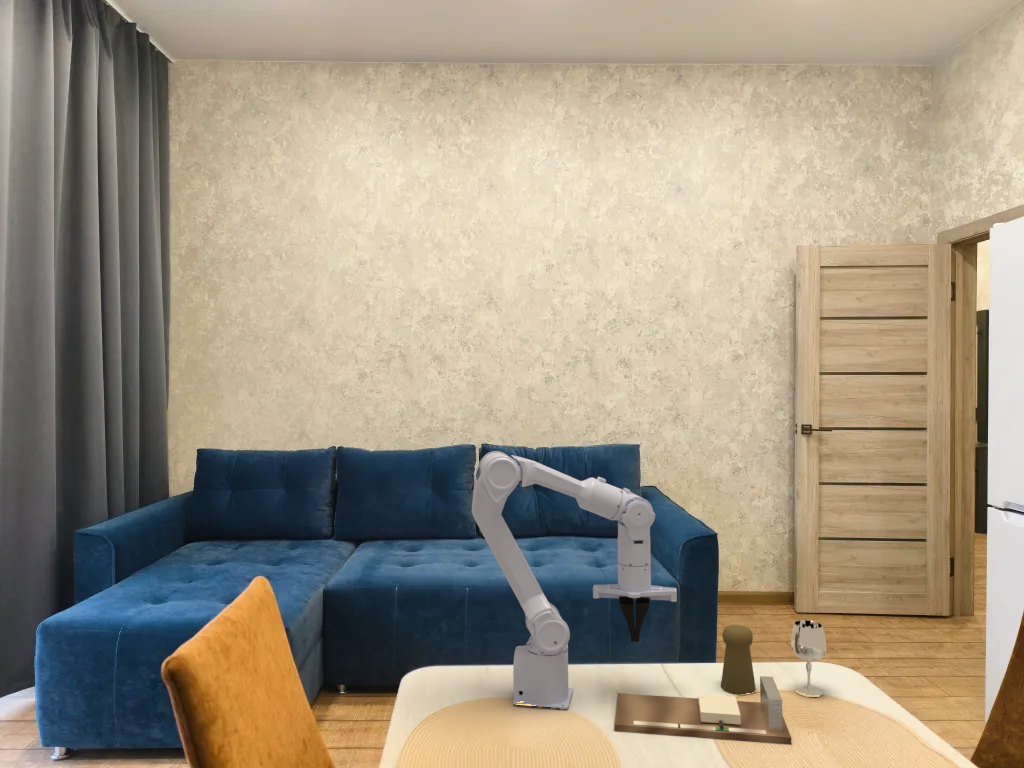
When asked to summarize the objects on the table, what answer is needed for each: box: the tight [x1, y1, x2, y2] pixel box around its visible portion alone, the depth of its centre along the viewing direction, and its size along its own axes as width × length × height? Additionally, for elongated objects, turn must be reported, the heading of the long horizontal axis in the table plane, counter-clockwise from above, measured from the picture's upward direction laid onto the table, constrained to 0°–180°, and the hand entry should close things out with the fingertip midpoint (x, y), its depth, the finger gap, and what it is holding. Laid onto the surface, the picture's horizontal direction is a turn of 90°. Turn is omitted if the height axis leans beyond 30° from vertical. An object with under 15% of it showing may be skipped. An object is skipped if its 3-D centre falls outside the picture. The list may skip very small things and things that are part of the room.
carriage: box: [697, 693, 741, 729], centre depth 118 cm, size 6×9×2 cm, turn 169°
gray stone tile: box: [759, 675, 783, 732], centre depth 117 cm, size 2×9×5 cm, turn 169°
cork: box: [720, 624, 757, 695], centre depth 132 cm, size 6×6×11 cm
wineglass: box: [790, 619, 827, 696], centre depth 129 cm, size 6×6×12 cm
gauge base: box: [613, 692, 792, 745], centre depth 119 cm, size 26×12×1 cm, turn 79°
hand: (635, 639), depth 130 cm, fingers closed
